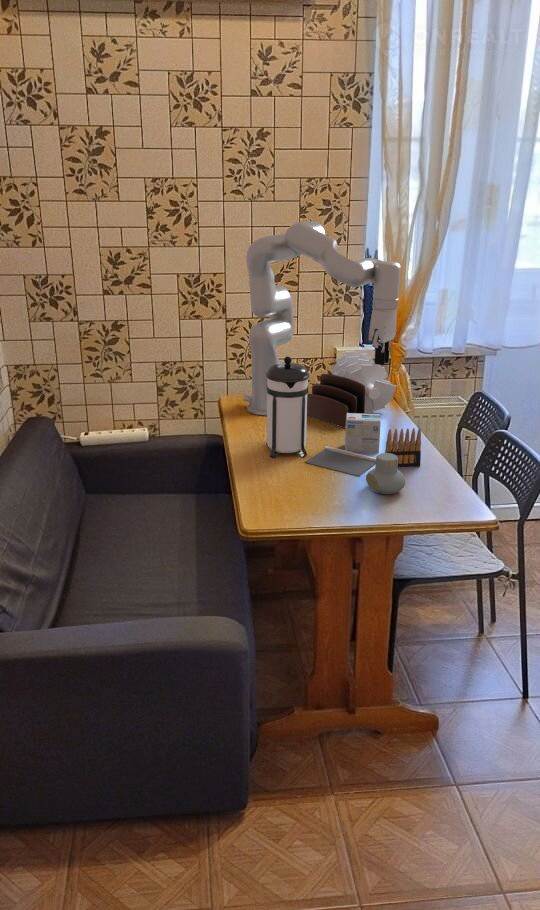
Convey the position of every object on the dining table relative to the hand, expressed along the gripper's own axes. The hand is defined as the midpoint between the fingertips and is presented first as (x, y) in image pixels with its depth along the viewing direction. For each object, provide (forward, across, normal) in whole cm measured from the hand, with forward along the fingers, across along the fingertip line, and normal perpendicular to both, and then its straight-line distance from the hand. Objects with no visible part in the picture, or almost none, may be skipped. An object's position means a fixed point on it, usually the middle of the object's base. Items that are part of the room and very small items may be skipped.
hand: (381, 362), depth 237 cm
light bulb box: (+25, +10, 0) cm, 28 cm away
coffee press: (+25, +25, -20) cm, 40 cm away
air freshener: (+25, +34, +19) cm, 47 cm away
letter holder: (+26, -9, -21) cm, 34 cm away
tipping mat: (+25, +24, 0) cm, 35 cm away
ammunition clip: (+25, +16, +16) cm, 34 cm away
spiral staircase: (+25, -28, -20) cm, 43 cm away
